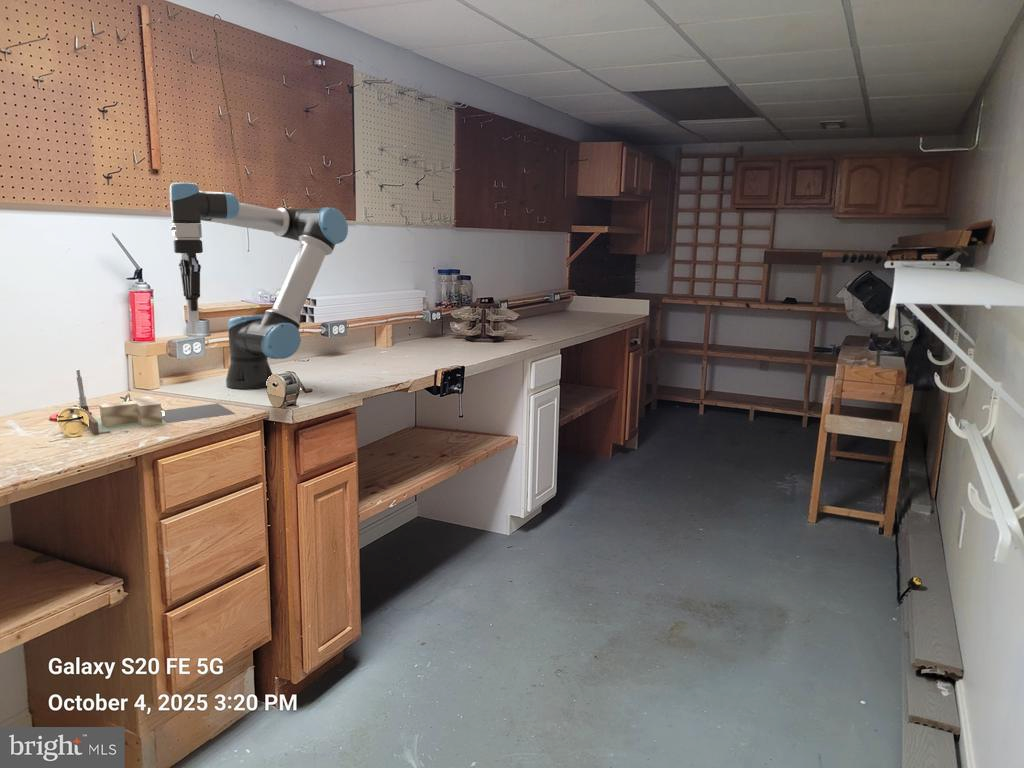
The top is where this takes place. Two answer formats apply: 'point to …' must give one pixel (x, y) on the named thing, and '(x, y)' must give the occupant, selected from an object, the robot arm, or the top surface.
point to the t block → (131, 412)
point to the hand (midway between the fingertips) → (193, 321)
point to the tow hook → (82, 398)
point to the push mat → (165, 417)
